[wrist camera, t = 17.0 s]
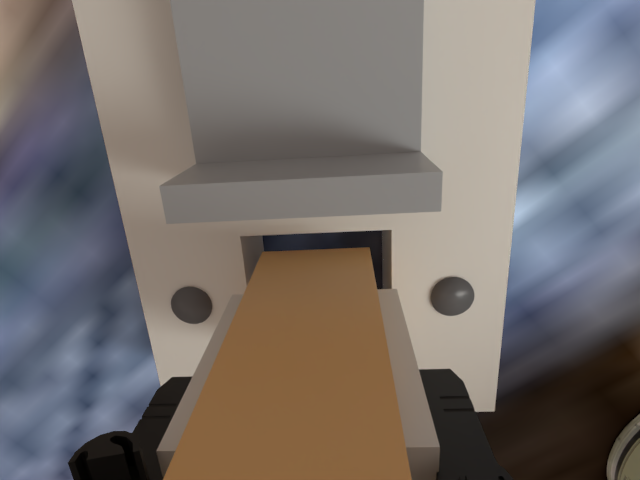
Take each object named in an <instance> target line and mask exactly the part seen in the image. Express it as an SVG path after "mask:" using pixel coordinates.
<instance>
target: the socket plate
mask: <svg viewBox="0 0 640 480" xmlns="http://www.w3.org/2000/svg"><path fill="white" fill-rule="evenodd" d="M72 3H73V8H74V12H75V16H76V21H77V25H78V29H79V34H80V38H81V42H82V47H83V51H84V55H85V60H86V64H87V68H88V73H89V77H90V81H91V86H92V90H93V94H94V99H95V103H96V108H97V112H98V116H99V121H100V125H101V129H102V134H103V138H104V142H105V147H106V151H107V155H108V160H109V164H110V168H111V173H112V177H113V181H114V186H115V190H116V194H117V199H118V203H119V207H120V212H121V216H122V220H123V225H124V229H125V233H126V238H127V242H128V246H129V251H130V255H131V259H132V264H133V268H134V272H135V277H136V281H137V285H138V290H139V294H140V299H141V303H142V307H143V312H144V316H145V320H146V325H147V329H148V333H149V338H150V342H151V346H152V351H153V355H154V359H155V364H156V368H157V372H158V377H159V381H160V385H161V386H162V385H163V384H164V383H166V382H167V381H168V380H169V379H170V378H171V377H191V376H193V374H194V372H195V370H196V368H197V366H198V364H199V362H200V360H201V358H202V356H203V354H204V352H205V350H206V348H207V346H208V344H209V342H210V339H211V337H212V335H213V333H214V331H215V329H216V327H217V325H218V323H219V321H220V319H221V317H222V315H223V313H224V311H225V309H226V306H227V304H228V302H229V300H230V298H231V296H232V295H234V294H244V292H245V290H246V288H247V285H248V283H249V281H250V279H251V276H252V274H253V272H254V269H255V267H256V265H257V262H258V260H259V258H260V256H261V253H262V252H264V245H263V236H262V235H283V234H306V233H329V232H352V231H376V230H382V286H383V289H397V291H398V295H399V299H400V302H401V306H402V310H403V313H404V317H405V321H406V324H407V328H408V332H409V335H410V339H411V343H412V346H413V350H414V354H415V357H416V361H417V365H418V368H419V369H451V370H452V371H453V372H454V373H455V374H456V375H457V376H458V377H459V378H460V379H462V380H463V382H464V384H465V387H466V389H467V392H468V394H469V398H470V399H471V401H472V404H473V406H474V410H475V411H476V412H493V411H495V402H496V392H497V382H498V372H499V362H500V352H501V342H502V332H503V322H504V312H505V302H506V292H507V282H508V272H509V262H510V252H511V242H512V231H513V221H514V211H515V201H516V191H517V181H518V171H519V161H520V151H521V141H522V131H523V121H524V111H525V101H526V91H527V81H528V71H529V60H530V50H531V40H532V30H533V20H534V10H535V0H424V18H423V68H422V118H421V152H422V153H423V154H424V155H425V156H426V157H427V158H428V159H429V160H431V161H432V162H433V163H434V164H435V165H436V166H437V167H438V168H439V169H440V170H441V171H443V177H442V203H441V211H440V212H418V213H396V214H374V215H352V216H330V217H308V218H286V219H264V220H242V221H220V222H198V223H176V224H166V219H165V214H164V208H163V203H162V198H161V193H160V188H159V186H160V185H162V184H163V183H165V182H167V181H168V180H170V179H172V178H173V177H175V176H177V175H178V174H180V173H182V172H183V171H185V170H187V169H188V168H190V167H192V166H193V165H195V164H196V160H195V154H194V147H193V141H192V135H191V129H190V122H189V116H188V110H187V104H186V98H185V91H184V85H183V79H182V73H181V66H180V60H179V54H178V48H177V41H176V35H175V29H174V23H173V17H172V10H171V4H170V0H72Z"/></svg>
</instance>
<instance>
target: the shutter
mask: <svg viewBox="0 0 640 480" xmlns="http://www.w3.org/2000/svg"><path fill="white" fill-rule="evenodd" d="M170 4H171V10H172V17H173V23H174V29H175V35H176V41H177V48H178V54H179V60H180V66H181V73H182V79H183V85H184V91H185V98H186V104H187V110H188V116H189V122H190V129H191V135H192V141H193V147H194V154H195V160H196V164H195V165H193V166H192V167H190V168H188V169H187V170H185V171H183V172H182V173H180V174H178V175H177V176H175V177H173V178H172V179H170V180H168V181H167V182H165V183H163V184H162V185H160V186H159V188H160V193H161V198H162V203H163V208H164V214H165V219H166V224H176V223H198V222H220V221H242V220H264V219H286V218H308V217H330V216H352V215H374V214H396V213H418V212H440V211H441V203H442V177H443V171H441V170H440V169H439V168H438V167H437V166H436V165H435V164H434V163H433V162H432V161H431V160H429V159H428V158H427V157H426V156H425V155H424V154H423V153H422V152H421V118H422V68H423V18H424V0H170Z"/></svg>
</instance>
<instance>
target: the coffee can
mask: <svg viewBox="0 0 640 480" xmlns="http://www.w3.org/2000/svg"><path fill="white" fill-rule="evenodd" d="M607 480H640V414H639V415H638V416H637V417H636V418H634V419H633V420H632V421H631V422H630V423H629V424H628V425H627V426H626V427H625V428H624V429H623V431H622V432H621V433H620V434H619V436H618V437H617V438H616V441H615V443H614V445H613V447H612V450H611V452H610V454H609V458H608V462H607Z"/></svg>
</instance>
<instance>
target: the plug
mask: <svg viewBox="0 0 640 480" xmlns="http://www.w3.org/2000/svg"><path fill="white" fill-rule="evenodd" d="M163 480H412V478H411V472H410V467H409V461H408V456H407V450H406V445H405V439H404V434H403V428H402V423H401V417H400V412H399V406H398V401H397V395H396V390H395V384H394V379H393V374H392V368H391V363H390V357H389V352H388V346H387V341H386V335H385V330H384V324H383V319H382V313H381V308H380V302H379V297H378V291H377V286H376V280H375V275H374V269H373V264H372V258H371V253H370V247H364V248H340V249H316V250H292V251H268V252H262V253H261V256H260V258H259V260H258V262H257V265H256V267H255V269H254V272H253V274H252V276H251V279H250V281H249V283H248V285H247V288H246V290H245V292H244V295H243V297H242V299H241V302H240V304H239V306H238V308H237V311H236V313H235V315H234V318H233V320H232V322H231V324H230V327H229V329H228V331H227V334H226V336H225V338H224V341H223V343H222V345H221V347H220V350H219V352H218V354H217V357H216V359H215V361H214V364H213V366H212V368H211V370H210V373H209V375H208V377H207V380H206V382H205V384H204V386H203V389H202V391H201V393H200V396H199V398H198V400H197V403H196V405H195V407H194V409H193V412H192V414H191V416H190V419H189V421H188V423H187V426H186V428H185V430H184V432H183V435H182V437H181V439H180V442H179V444H178V446H177V448H176V451H175V453H174V455H173V458H172V460H171V462H170V465H169V467H168V469H167V471H166V474H165V476H164V478H163Z"/></svg>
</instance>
